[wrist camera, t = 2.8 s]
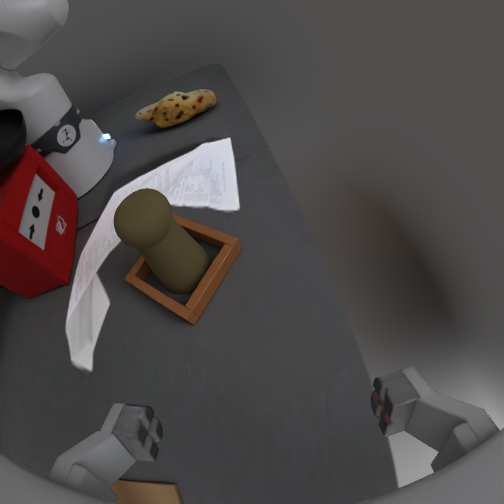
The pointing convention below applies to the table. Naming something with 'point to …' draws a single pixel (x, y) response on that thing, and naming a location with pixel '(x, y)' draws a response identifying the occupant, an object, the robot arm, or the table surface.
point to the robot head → (11, 138)
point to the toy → (177, 108)
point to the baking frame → (209, 281)
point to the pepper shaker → (161, 240)
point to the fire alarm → (36, 226)
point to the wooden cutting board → (145, 492)
